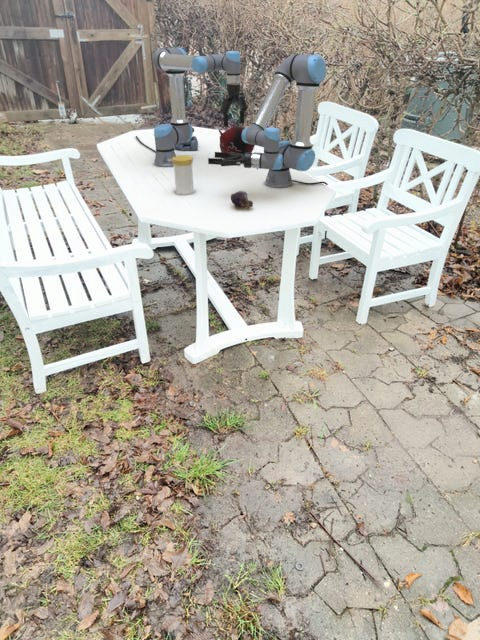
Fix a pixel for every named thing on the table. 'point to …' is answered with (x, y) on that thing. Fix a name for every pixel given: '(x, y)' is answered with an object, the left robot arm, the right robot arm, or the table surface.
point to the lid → (182, 160)
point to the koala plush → (188, 144)
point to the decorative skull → (234, 141)
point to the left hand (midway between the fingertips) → (234, 125)
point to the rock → (241, 200)
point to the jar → (183, 179)
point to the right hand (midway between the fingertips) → (211, 157)
